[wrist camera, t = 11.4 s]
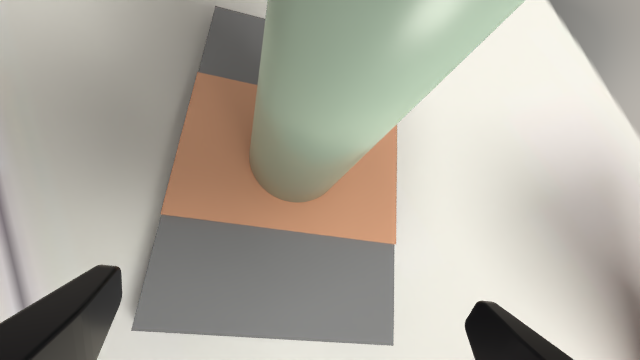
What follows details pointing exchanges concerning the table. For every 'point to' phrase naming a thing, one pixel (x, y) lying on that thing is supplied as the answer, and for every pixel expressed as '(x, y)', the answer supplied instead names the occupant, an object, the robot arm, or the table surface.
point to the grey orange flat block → (265, 224)
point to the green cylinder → (350, 79)
